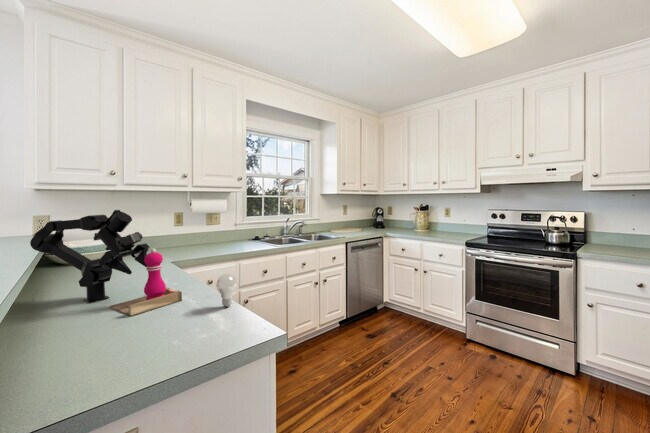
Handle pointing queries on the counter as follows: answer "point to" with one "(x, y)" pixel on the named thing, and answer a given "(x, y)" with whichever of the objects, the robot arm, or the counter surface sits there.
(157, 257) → the pepper mill
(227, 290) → the light bulb
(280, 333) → the counter surface
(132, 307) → the brown flat rimmed piece
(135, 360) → the counter surface
